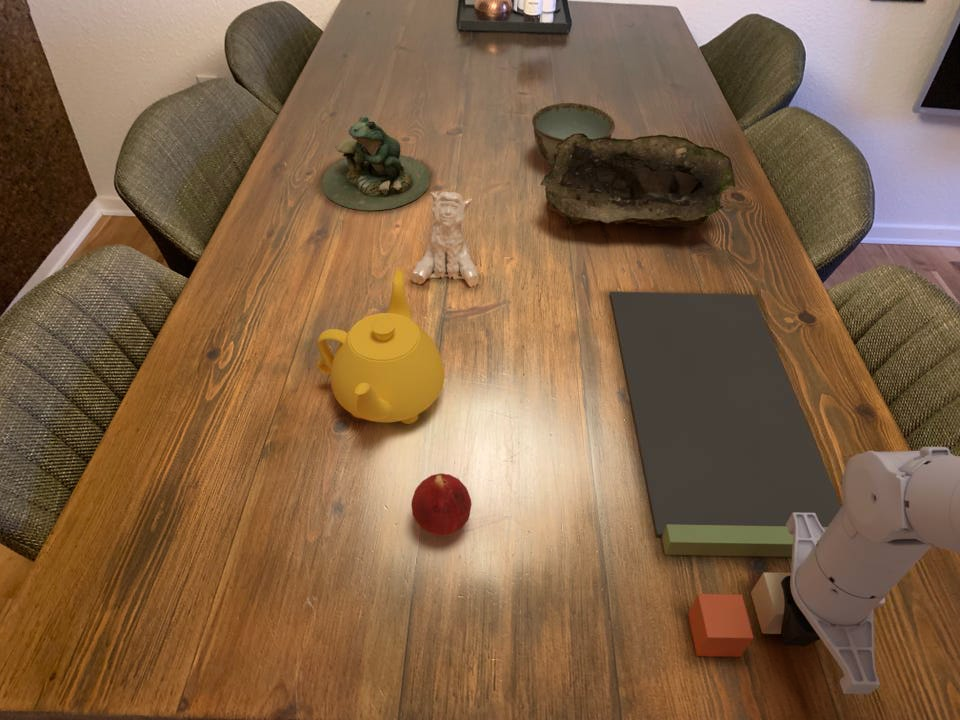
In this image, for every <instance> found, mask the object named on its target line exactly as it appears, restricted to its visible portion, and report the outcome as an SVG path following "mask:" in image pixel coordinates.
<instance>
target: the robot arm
mask: <svg viewBox="0 0 960 720" xmlns="http://www.w3.org/2000/svg"><path fill="white" fill-rule="evenodd" d="M841 494H842V502H843V504H842V505H841V508H840V510H839V511H838V513H837V514H836V516H835V517H834V519H833V520H832V521H831V523H830V524H829V526H828V527H827V529H826V530H824V529H823V527H822V526H821V524H820V522H819V521H818V518H817V516H816V514H815V513H799V512H793V513H792V515H791V516H790V518H789V520H788V521H787V523H786V527H787V530H788V532H789V533H790V534H792V535H793V548H792V557H791V563H790V564H791V565H790V573H791V576H786V577H785V578H784V579H783V580H782V581H781V585H782V589H783V593H784V616H783V622H782V627H781V634H780V635H781V639H782V642H783V646H785V647H807V646H810V645H811V644H813V643H815V642H818V641H822V643H823V644H824V646H825V647H826V648H827V650H828V651H829V653H830V654H831V656H832V657H833V659H834V660H835V661H836V663H837V664H838V666H839V668H840V670H841V671H842V673H843V676H842V677H841V678H840V680H839V685H840V687H841V690H842V693H843V694H844V695H870V694H872V693H873V692H874V691H875V690H876V689H877V688H878V687H879V686H881V682H880V679H879V675H878V672H877V668H876V661H875V659H876V658H875V657H876V656H875V624H874V623H875V621H874V619H875V618H874V617H875V615H874V610H875V609H876V608H881V607H882V606H883V605H884V604H885V603H886V596H888V595H889V593H890V592H891V591H892V590H893V589H894V588H895V587H896V585H898V583H900V581H901V580H902V579H903V578H904V577H905V576H906V575H907V573H909V572H910V570H911V569H912V568H913V567H914V566H915V565H916V564H917V563H918V562H919V561H920V560H921V558H922V557H924V556H925V554H926V553H927V552H928V551H929V550H930V549H931V548H936V549H937V548H938V549H941V550H945V551H948V552H952V553H954V554H958V555H960V455H953V453H951V451H950V448H949V447H947V446H946V447H945V446H922V447H920V449H919V450H894V451H893V450H890V451H889V450H888V451H875V450H867V451H865V452H863V453H856V454H854V455H853V456H851V458H849V460H847V463H846V465H845V467H844V470H843V474H842V479H841Z"/></svg>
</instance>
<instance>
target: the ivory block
mask: <svg viewBox="0 0 960 720" xmlns="http://www.w3.org/2000/svg"><path fill="white" fill-rule="evenodd" d="M786 576H791V572H767V571H766V572H762V574H761V576H760V577H759V579H758V580H757V582H756V583H755V585H754V586H753V588H752V590H751V592H750V596H751V598H752V602H753V606H754V610H755V613H756V617H757V621H758V624H759V628H760V631H761V634H764V635H768V634H769V635H781V627H782V622H783V616H784V593H783V589H782V585H781V581H782V580H783V579H784V578H785V577H786Z"/></svg>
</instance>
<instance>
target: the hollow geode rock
mask: <svg viewBox="0 0 960 720" xmlns="http://www.w3.org/2000/svg"><path fill="white" fill-rule="evenodd" d="M556 148H558V153H557V154H556V159H555V163H554V167H553V166H552V169H551V170H550V171H549V172H548V173H547V174H546V175H544V177H543V178H542V180H541V182H540V185H541V186H542V188H543V187H545V188H544V192H545V199H546V200H547V204H548V207H549V209H550V210H551V211H553V212H554V213H556V214H557V215H559V216H560V217H563V218H564V219H565V221H566V223H567V224H568V226H569V227H571V226H576V225H580V224H583V223H585V222H589V223H593V222H602V223H605V224H610V223H611V224H616V225H620V224H622V223H636V224H638V225H641V224H642V225H649V226H650V227H654V226H655V227H665V228H666V227H667V228H693V229H696V228H699V227H700V226H701V225H703V224H704V223H705V221H706V220H707V219H708V218H709V216H712V215H715V214H716V213H717V212H718V211H719V210H723V209H724V206H723V205H721V199H722V197H723V196H722V192H724V191H726V190H728V189H729V187H736V186H737V185H736V181H735V176H734V168H733V163H732V159H731V158H730V157H729V156H728V155H725V153H724V152H722V151H720V150H718V149H717V150H716V149H714V147H707V146H700V145H698V144H696V143H694V142H692V141H691V140H690V139H688V138H686V137H680V136H677V135H674V136H673V135H671V136H670V135H668V134H667V135H666V134H657V135H653V134H651V135H647V136H637V137H636V138H630V139H629V138H626V139H625V138H616V137H614V138H613V137H611V138H607V137H604V138H596V139H589V138H588V137H587V136H586V135H585V134H583V133H578V134H573V135H571V136H570V137H567V138H566V139H564V140H563V141H562V142H560V143H558V144H557V146H556Z"/></svg>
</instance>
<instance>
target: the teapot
mask: <svg viewBox="0 0 960 720" xmlns="http://www.w3.org/2000/svg"><path fill="white" fill-rule="evenodd" d="M316 341H317V343H316V345H317V349H318V352H319V353H320V356H321V358H319V359H318V361H316V362H317V363H316V368H317V370H318V372H319V373H320V374H322V375H323V376H327V377H329V376H330V386H331V390H332V394H333V396H334V398H335V400H336V401H337V403H339V405H340V406H341V407H342V408H343V409H345V410H346V411H347V412H348V413H350V414H351V415H352V417H354V418H356V419H363V420H366V421H370V422H375V423H395V422H401V423H403V424H405V425H410V424H414V423H416V422H417V421H418V419H419V414H421V413H422V412H424V411H425V410H427V409H428V408H429V407H430V406H432V404H433V403H434V402H435V401H436V400H437V398H438V397H439V396H440V394H441V391H442V389H443V388H444V387H443V386H444V383H445V367H444V363H443V359H442V355H441V353H440V351H439V349H438V346H437V345H436V343H435V342H434V340H433V339H432V337H430V336H429V334H428V333H427V332H426V331H425V329H423V328H422V327H421V326H420V325H419V324H417V323H416V322H415V321H414V320H413V315H412V311H411V309H410V305H409V302H408V299H407V296H406V290H405V273H404V271H403V269H401V268H398V269H397V270H396V271H395V272H394V274H393V278H392V287H391V293H390V299H389V303H388V307H387V311H386V312H380V313H374V314H371V315H367V316H364V317H363V318H361V319H360V320H358V321H357V322H356V323H354V325H353V326H352V327H351V328H350V329H349V330H348V332H346V331H345V330H342V329H340V328H339V329H338V328H329V329H326V330H324V331H322V332H321V333H320V334H319V336H318V338H317V340H316ZM327 341H334V342H337V343H339V344H338V347H337V348H336V350H335V353H334V354H333V352H332V351H331V349H330V347H329V345H328V342H327Z"/></svg>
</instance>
